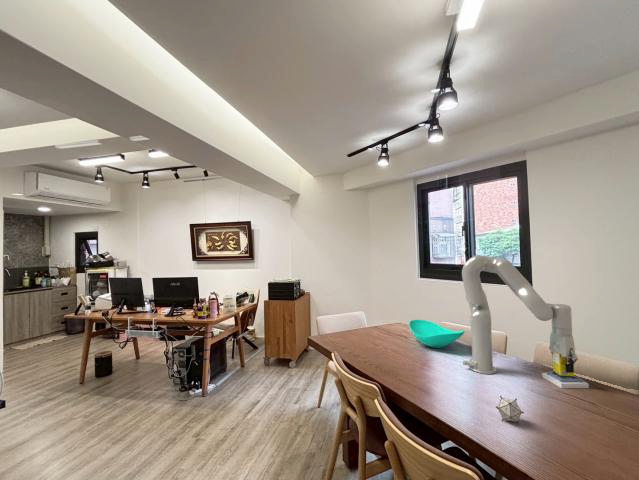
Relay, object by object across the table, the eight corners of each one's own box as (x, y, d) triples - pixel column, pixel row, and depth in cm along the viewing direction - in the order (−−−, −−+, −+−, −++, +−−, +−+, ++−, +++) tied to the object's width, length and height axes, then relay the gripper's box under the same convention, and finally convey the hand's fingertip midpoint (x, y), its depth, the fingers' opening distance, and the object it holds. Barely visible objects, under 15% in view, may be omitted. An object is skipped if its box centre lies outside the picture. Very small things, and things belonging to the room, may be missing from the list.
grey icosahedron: (503, 429, 112) (486, 401, 117) (523, 419, 112) (505, 392, 118) (513, 429, 104) (494, 399, 109) (535, 419, 105) (514, 389, 110)
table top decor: (476, 351, 186) (476, 330, 187) (443, 358, 175) (442, 335, 175) (429, 336, 222) (428, 317, 223) (399, 341, 211) (398, 321, 212)
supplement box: (575, 378, 139) (574, 354, 139) (560, 377, 140) (559, 353, 140) (567, 373, 144) (566, 349, 145) (552, 372, 146) (552, 349, 146)
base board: (561, 388, 136) (561, 380, 136) (542, 377, 148) (542, 370, 148) (588, 388, 136) (588, 380, 136) (567, 377, 148) (566, 370, 148)
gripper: (540, 326, 152) (542, 362, 151) (568, 336, 134) (570, 376, 134) (555, 326, 152) (557, 362, 151) (585, 335, 134) (587, 376, 134)
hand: (563, 368), depth 142 cm, fingers closed on supplement box, 6 cm apart
